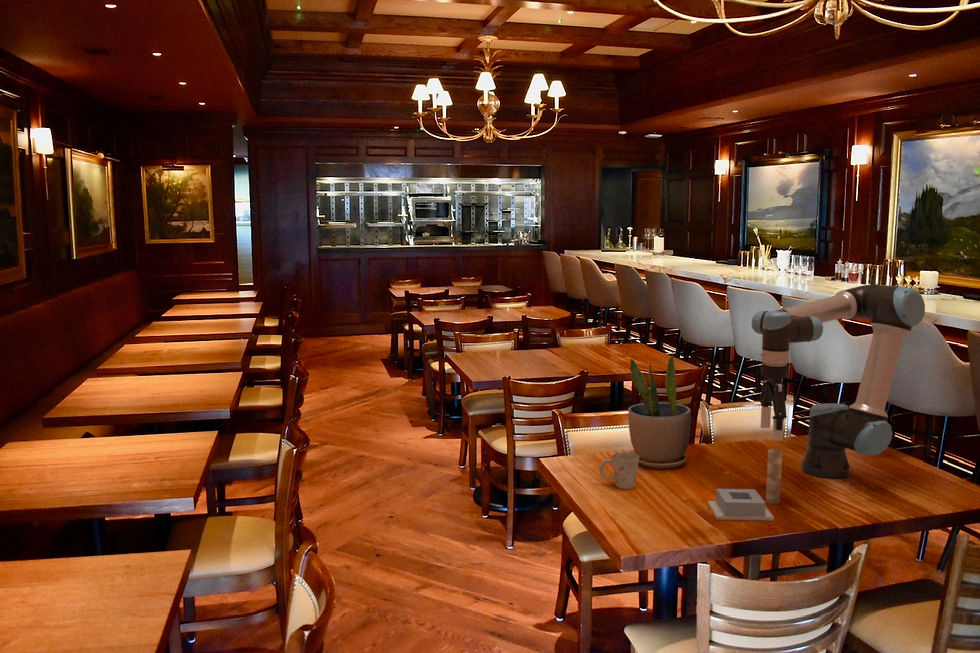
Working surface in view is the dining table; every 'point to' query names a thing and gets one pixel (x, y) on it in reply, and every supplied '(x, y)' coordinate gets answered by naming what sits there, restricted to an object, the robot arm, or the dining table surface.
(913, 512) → the dining table surface
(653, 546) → the dining table surface
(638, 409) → the potted plant
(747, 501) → the socket
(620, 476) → the mug
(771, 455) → the peg
